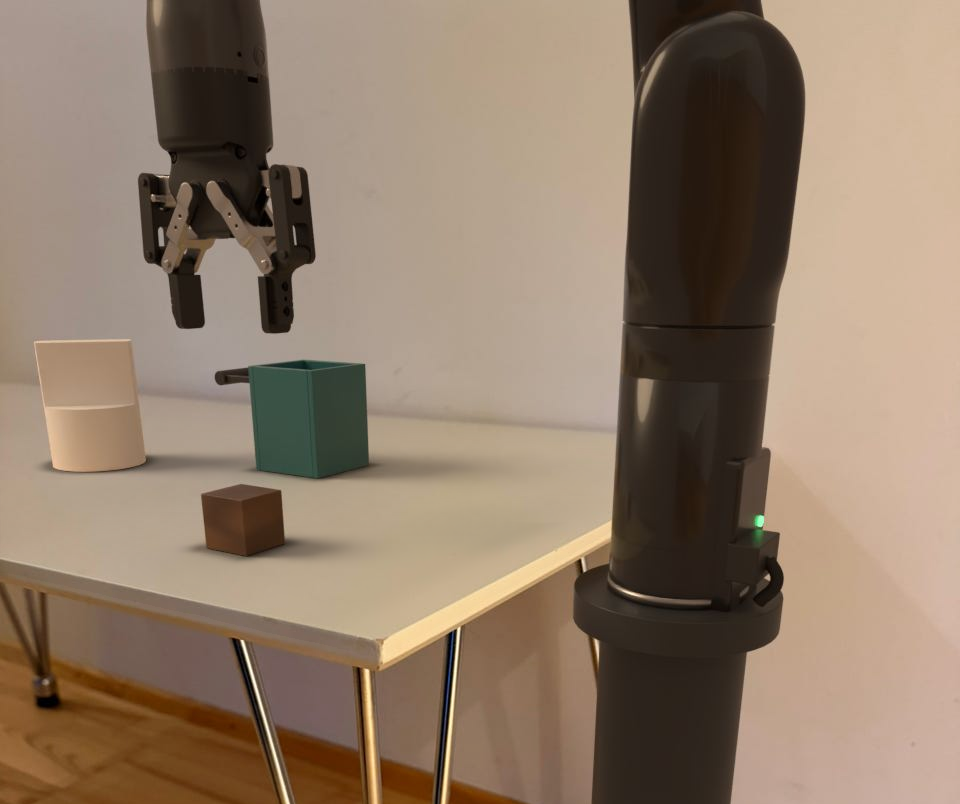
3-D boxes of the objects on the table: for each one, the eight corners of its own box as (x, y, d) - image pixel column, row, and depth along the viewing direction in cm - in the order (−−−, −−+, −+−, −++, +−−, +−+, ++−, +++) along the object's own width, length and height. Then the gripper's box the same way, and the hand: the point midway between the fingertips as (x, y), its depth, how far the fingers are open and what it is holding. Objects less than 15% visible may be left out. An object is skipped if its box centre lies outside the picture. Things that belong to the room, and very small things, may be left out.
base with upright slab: (147, 453, 106) (133, 336, 102) (144, 468, 98) (129, 343, 93) (58, 457, 104) (39, 338, 99) (47, 473, 96) (27, 345, 91)
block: (285, 543, 72) (281, 489, 71) (246, 556, 69) (241, 500, 68) (245, 535, 74) (241, 483, 73) (206, 548, 71) (200, 493, 70)
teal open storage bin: (365, 363, 97) (263, 356, 103) (311, 370, 90) (206, 362, 97) (369, 465, 100) (270, 452, 107) (317, 478, 94) (216, 464, 100)
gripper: (91, 74, 65) (123, 330, 71) (248, 50, 58) (269, 337, 64) (179, 89, 71) (202, 325, 77) (331, 70, 64) (344, 331, 70)
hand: (232, 330), depth 70 cm, fingers open, 8 cm apart
